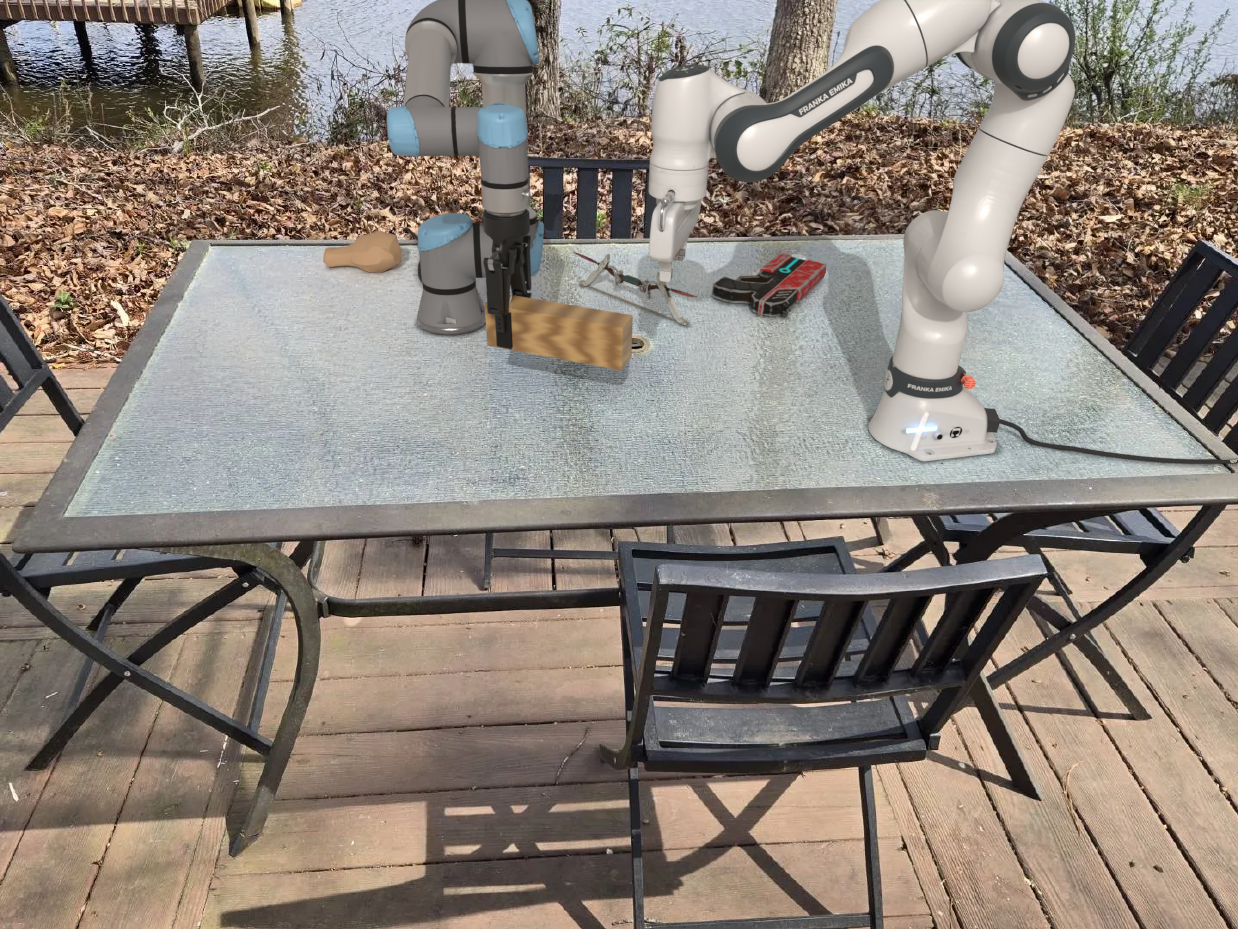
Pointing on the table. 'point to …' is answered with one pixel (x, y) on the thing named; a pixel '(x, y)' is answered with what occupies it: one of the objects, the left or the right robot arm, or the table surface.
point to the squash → (367, 253)
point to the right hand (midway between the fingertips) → (672, 269)
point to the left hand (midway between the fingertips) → (512, 339)
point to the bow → (643, 285)
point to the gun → (772, 285)
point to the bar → (567, 332)
